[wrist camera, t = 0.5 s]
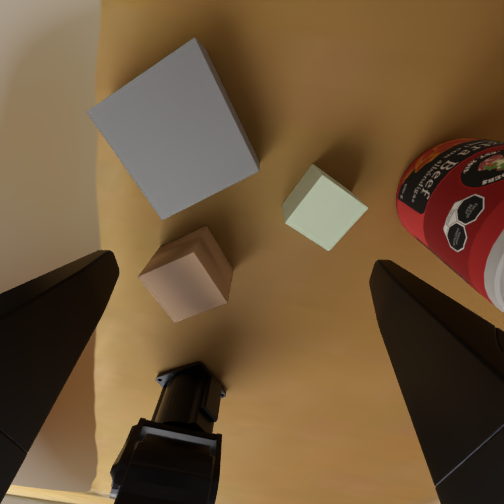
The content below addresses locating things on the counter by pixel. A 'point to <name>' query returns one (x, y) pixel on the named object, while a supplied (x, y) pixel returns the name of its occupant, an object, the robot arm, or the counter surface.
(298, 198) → the sage block
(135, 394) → the counter surface
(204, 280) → the walnut cube
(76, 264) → the robot arm
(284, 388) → the counter surface
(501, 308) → the canned food
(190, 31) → the counter surface
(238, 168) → the grey square block
